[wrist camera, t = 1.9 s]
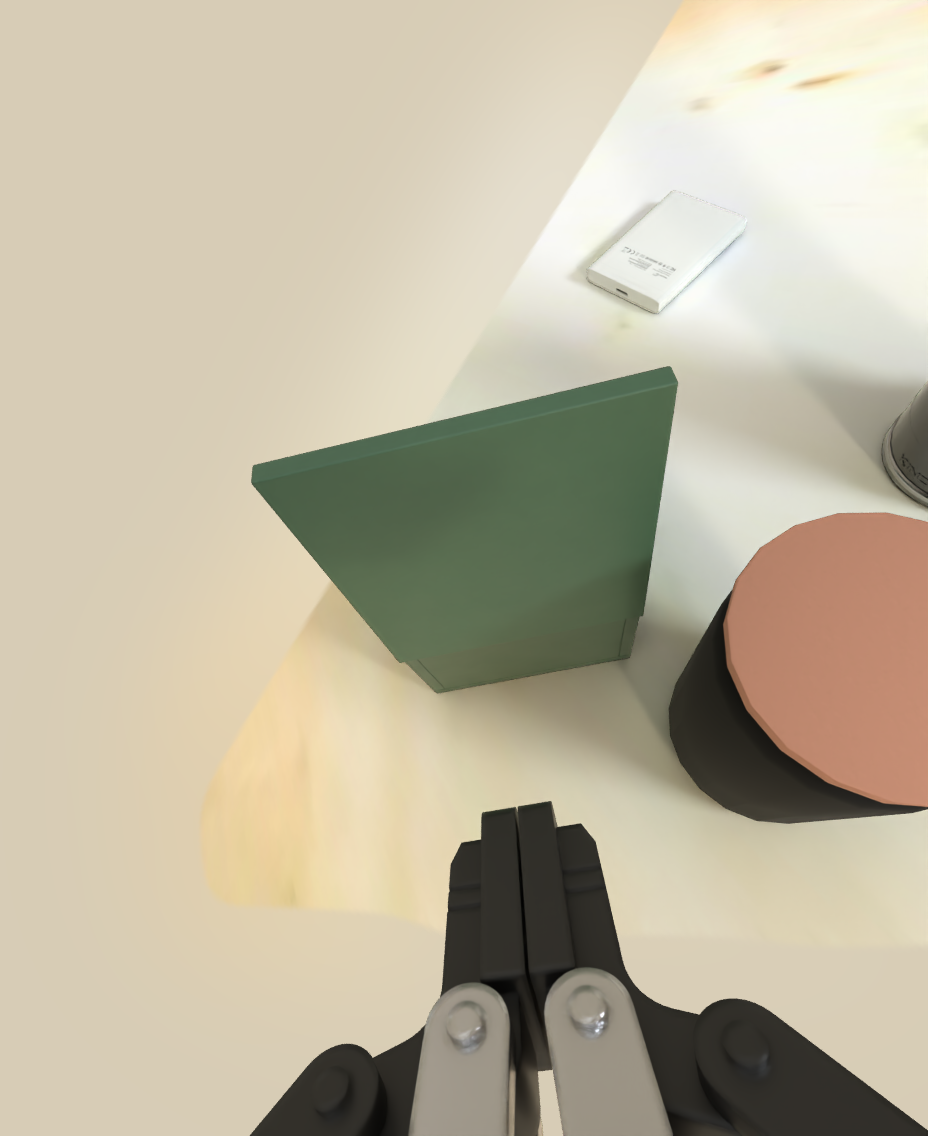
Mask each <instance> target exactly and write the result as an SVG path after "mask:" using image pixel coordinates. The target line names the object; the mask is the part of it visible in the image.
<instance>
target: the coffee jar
mask: <svg viewBox="0 0 928 1136" xmlns="http://www.w3.org/2000/svg"><path fill="white" fill-rule="evenodd" d="M669 722H670V736H671V739H672V742H673V744H674V747H675V750H676V752H677V755H678V758H679V760H680V763H681V764H682V766H683V767H684V768H685V770H686V771H687V772H688V774H689V775H690V776H691V778H692V779H693V780H694V782H695V783H696V784H697V786H698V787H699V788H700V789H701V790H702V791H704V792H705V793H706V794H708V795H709V796H710V797H711V798H713V799H714V800H715V801H717V802H718V803H719V804H721V805H722V806H723V807H724V808H726V809H728V810H731V811H733V812H736V813H738V814H741V815H743V816H746V817H748V818H751V819H753V820H756V821H765V822H776V823H787V824H790V823H801V822H813V821H825V820H836V819H848V818H860V817H871V816H883V815H895V814H906V813H914V812H918V811H922V810H927V809H928V522H925V521H921V520H917V519H912V518H908V517H903V516H899V515H894V514H890V513H838V514H834V515H831V516H827V517H823V518H820V519H816V520H813V521H809V522H806V523H802V524H799V525H795V526H793V527H792V528H790V529H789V530H787V531H785V532H784V533H782V534H781V535H779V536H778V537H776V538H775V539H773V540H772V541H770V542H769V543H767V544H766V545H764V546H762V547H761V548H759V550H758V551H757V552H756V554H755V555H754V556H753V558H752V559H751V560H750V562H749V563H748V564H747V566H746V567H745V568H744V570H743V571H742V572H741V574H740V575H739V576H738V578H737V579H736V581H735V584H734V587H733V590H732V591H731V592H730V594H729V595H728V596H727V598H726V599H725V600H724V602H723V603H722V604H721V606H720V608H719V609H718V611H717V613H716V615H715V616H714V618H713V620H712V622H711V623H710V625H709V627H708V629H707V630H706V632H705V634H704V636H703V637H702V639H701V641H700V643H699V644H698V646H697V648H696V650H695V651H694V653H693V655H692V657H691V658H690V660H689V662H688V664H687V665H686V667H685V669H684V671H683V672H682V674H681V676H680V678H679V679H678V681H677V683H676V686H675V689H674V692H673V696H672V699H671V703H670V706H669Z"/></svg>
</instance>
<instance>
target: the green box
mask: <svg viewBox="0 0 928 1136" xmlns="http://www.w3.org/2000/svg"><path fill="white" fill-rule="evenodd" d="M638 621H639V617H635V618H630V619H625V620H619V621H614V622H609V623H604V624H599V625H594V626H588V627H583V628H578V629H573V630H568V631H562V632H557V633H552V634H547V635H542V636H537V637H531V638H526V639H521V640H516V641H511V642H506V643H500V644H495V645H490V646H485V647H480V648H474V649H469V650H464V651H459V652H454V653H449V654H443V655H438V656H433V657H428V658H423V659H417V660H412V661H407V662H405V663H406V664H408V665H409V666H410V667H411V668H412V669H413V670H414V671H415V672H416V673H417V674H418V675H419V676H420V677H421V678H422V679H423V680H424V681H425V682H426V683H427V684H428V685H429V686H430V687H431V688H432V689H433V690H434V691H435V692H436V693H442V692H447V691H453V690H458V689H463V688H469V687H474V686H479V685H485V684H490V683H496V682H501V681H506V680H512V679H517V678H523V677H528V676H533V675H539V674H544V673H549V672H555V671H560V670H566V669H571V668H576V667H582V666H587V665H593V664H598V663H603V662H609V661H614V660H619V659H625V658H629V657H630V654H631V650H632V646H633V642H634V637H635V633H636V629H637V625H638Z"/></svg>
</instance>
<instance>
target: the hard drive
mask: <svg viewBox="0 0 928 1136" xmlns="http://www.w3.org/2000/svg"><path fill="white" fill-rule="evenodd" d="M746 223H747V219H746V218H745V217H744V216H742V215H739V214H737V213H734V212H731V211H729V210H726V209H723V208H721V207H718V206H715V205H713V204H710V203H707V202H705V201H703V200H700V199H697V198H694V197H692V196H689V195H687V194H684V193H681V192H678V191H671V192H670V193H669V194H668V195H667V196H666V197H665V198H664V199H663V200H662V201H661V202H659V203H658V204H657V205H656V206H655V207H654V208H653V209H652V210H651V211H650V212H649V213H647V214H646V215H645V216H644V217H643V218H642V219H641V220H640V221H639V222H638V223H637V224H635V225H634V226H633V227H632V228H631V229H630V230H629V231H628V232H627V233H626V234H625V235H623V236H622V237H621V238H620V239H619V240H618V241H617V242H616V243H615V244H614V245H612V246H611V247H610V248H609V249H608V250H607V251H606V252H605V253H604V254H603V255H602V256H601V257H600V258H598V259H597V260H596V261H595V262H594V263H593V264H592V265H591V266H590V267H589V268H587V280H588V281H590V282H591V283H593V284H595V285H597V286H599V287H601V288H603V289H605V290H607V291H609V292H611V293H613V294H615V295H617V296H619V297H621V298H623V299H625V300H627V301H629V302H631V303H633V304H635V305H637V306H639V307H641V308H643V309H645V310H647V311H650V312H652V313H656V314H657V313H659V312H660V311H661V310H662V309H663V308H664V307H665V306H666V305H668V304H669V303H670V302H671V301H672V300H673V299H674V298H675V297H676V296H677V295H678V294H679V293H680V292H681V291H682V290H683V289H684V288H685V287H686V286H687V285H688V284H690V283H691V282H692V281H693V280H694V279H695V278H696V277H697V276H698V275H699V274H700V273H701V272H702V271H703V270H704V269H705V268H706V267H707V266H708V265H709V264H710V263H711V262H712V261H713V260H714V259H715V258H716V257H717V256H718V255H720V254H721V253H722V252H723V251H724V250H725V249H726V248H727V247H728V246H729V245H730V244H731V243H732V242H733V241H734V240H735V239H736V238H737V237H738V236H739V235H740V234H741V233H742V232H743V231H744V229H745V226H746Z"/></svg>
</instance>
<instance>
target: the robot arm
mask: <svg viewBox="0 0 928 1136" xmlns="http://www.w3.org/2000/svg"><path fill="white" fill-rule="evenodd" d="M882 457H883V462H884V465H885V468H886V470H887V472H888V474H889V476H890V477H891V478H892V480H893V481H894V482H895V484H896V485H897V486H898V487H899V488H900V489H901V490H902V491H903V492H905V493H906V494H907V495H908V496H910V497H911V498H913V499H914V500H916V501H918V502H919V503H921V504H923V505H925V506H927V507H928V381H927V382H926V383H925V385H924V386H923V387H922V389H921V390H920V391H919V392H918V394H917V395H916V396H915V398H914V399H913V400H912V402H911V403H910V404H909V406H908V407H907V408H906V410H905V411H904V412H903V413H902V414H901V415H900V416H899V417H898V418H897V419H896V421H895V422H894V423H893V425H892V426H891V427H890V429H889V430H888V432H887V434H886V436H885V438H884V441H883V445H882ZM449 889H450V892H449V897H448V912H447V926H446V941H445V955H444V969H443V983H442V984H443V985H442V992H441V996H440V999H438V1001H437V1002H436V1003H435V1005H434V1006H433V1008H432V1010H431V1012H430V1013H429V1016H428V1018H427V1021H426V1025H425V1026H424V1027H423V1028H422V1029H421V1030H420V1031H419V1032H418V1033H416V1034H415V1035H414V1036H413V1037H411V1038H410V1039H408V1040H406V1041H405V1042H403V1043H401V1044H399V1045H397V1046H395V1047H393V1048H391V1049H389V1050H387V1051H385V1052H383V1053H381V1054H380V1055H378V1056H376V1057H374V1058H372V1056H371V1055H370V1054H369V1053H368V1052H367V1051H366V1050H365V1049H364V1048H362V1047H360V1046H358V1045H354V1044H341V1045H338V1046H334V1047H332V1048H330V1049H328V1050H326V1051H324V1052H323V1053H321V1054H320V1055H319V1056H318V1057H316V1058H315V1059H314V1060H313V1061H312V1062H311V1063H310V1064H309V1065H308V1066H307V1068H306V1069H305V1070H304V1071H303V1072H302V1074H301V1075H300V1076H299V1077H298V1078H297V1080H296V1081H295V1082H294V1083H293V1084H292V1086H291V1087H290V1088H289V1089H288V1090H287V1092H286V1093H285V1094H284V1095H283V1096H282V1098H281V1099H280V1100H279V1101H278V1102H277V1104H276V1105H275V1106H274V1107H273V1108H272V1110H271V1111H270V1112H269V1113H268V1115H267V1116H266V1117H265V1118H264V1119H263V1120H262V1122H261V1123H260V1124H259V1125H258V1126H257V1128H256V1129H255V1130H254V1131H253V1132H252V1134H251V1135H250V1136H543V1127H542V1121H541V1117H540V1096H539V1083H538V1071H545V1070H552V1068H553V1074H554V1080H555V1086H556V1092H557V1099H558V1105H559V1111H560V1117H561V1123H562V1130H563V1136H928V1130H927V1129H925V1128H924V1127H923V1126H921V1125H920V1124H919V1123H917V1122H916V1121H915V1120H913V1119H912V1118H911V1117H909V1116H908V1115H907V1114H905V1113H904V1112H903V1111H901V1110H900V1109H899V1108H897V1107H896V1106H895V1105H893V1104H892V1103H891V1102H889V1101H888V1100H887V1099H885V1098H884V1097H883V1096H882V1095H880V1094H879V1093H878V1092H876V1091H875V1090H873V1089H872V1088H871V1087H870V1086H868V1085H867V1084H866V1083H864V1082H863V1081H861V1080H860V1079H859V1078H858V1077H856V1076H855V1075H854V1074H852V1073H851V1072H850V1071H848V1070H847V1069H846V1068H844V1067H843V1066H841V1065H840V1064H839V1063H838V1062H836V1061H835V1060H834V1059H833V1058H831V1057H830V1056H829V1055H827V1054H826V1053H825V1052H823V1051H822V1050H820V1049H819V1048H818V1047H817V1046H815V1045H814V1044H813V1043H811V1042H810V1041H809V1040H807V1039H806V1038H805V1037H803V1036H802V1035H801V1034H799V1033H798V1032H797V1031H795V1030H794V1029H793V1028H792V1027H790V1026H789V1025H787V1024H786V1023H785V1022H784V1021H782V1020H781V1019H779V1018H778V1017H777V1016H776V1015H774V1014H773V1013H772V1012H770V1011H768V1010H767V1009H765V1008H764V1007H762V1006H760V1005H758V1004H756V1003H753V1002H750V1001H747V1000H742V999H724V1000H719V1001H717V1002H714V1003H712V1004H711V1005H709V1006H708V1007H706V1008H705V1009H704V1010H703V1011H702V1012H701V1014H700V1015H698V1014H694V1013H690V1012H685V1011H681V1010H677V1009H672V1008H669V1007H666V1006H663V1005H661V1004H659V1003H657V1002H655V1001H653V1000H652V999H650V998H648V997H647V996H646V995H645V994H643V993H642V992H641V991H640V990H639V989H638V988H637V987H636V986H635V985H634V983H633V982H632V980H631V979H630V977H629V976H628V974H627V972H626V970H625V967H624V964H623V960H622V956H621V952H620V947H619V942H618V938H617V934H616V929H615V925H614V920H613V916H612V912H611V907H610V903H609V899H608V894H607V890H606V886H605V881H604V877H603V872H602V868H601V864H600V859H599V855H598V850H597V846H596V842H595V840H594V839H593V838H592V837H591V835H590V834H589V833H588V832H587V830H586V829H585V828H584V827H583V825H582V824H575V825H568V826H562V827H557V823H556V818H555V814H554V810H553V806H552V802H551V801H548V802H542V803H536V804H530V805H524V806H518V812H517V809H516V807H513V808H507V809H501V810H495V811H489V812H483V813H482V820H481V840H476V841H470V842H463V843H461V845H460V847H459V849H458V851H457V853H456V855H455V857H454V859H453V861H452V863H451V868H450V883H449Z"/></svg>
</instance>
